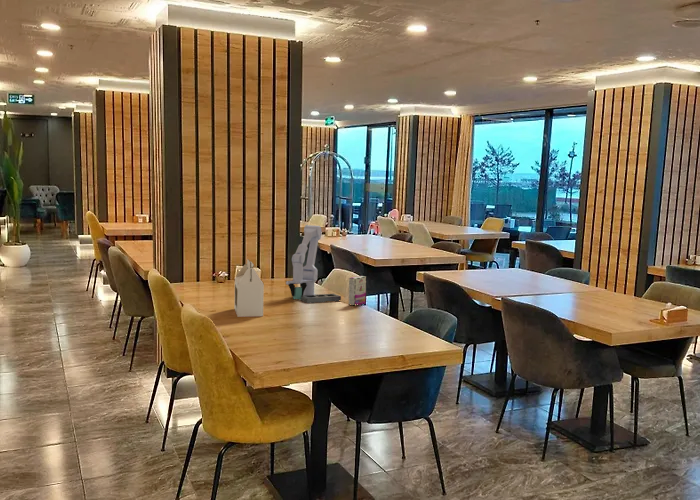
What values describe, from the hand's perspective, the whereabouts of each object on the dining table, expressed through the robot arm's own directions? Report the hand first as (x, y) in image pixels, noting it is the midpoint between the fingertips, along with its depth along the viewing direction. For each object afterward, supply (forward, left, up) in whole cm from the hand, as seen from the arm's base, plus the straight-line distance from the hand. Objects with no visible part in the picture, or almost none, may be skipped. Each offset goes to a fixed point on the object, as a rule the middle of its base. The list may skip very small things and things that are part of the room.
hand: (297, 295), depth 383 cm
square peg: (0, 0, -2) cm, 2 cm away
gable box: (+29, -41, -2) cm, 50 cm away
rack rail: (+10, +11, -2) cm, 15 cm away
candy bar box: (+28, +26, -2) cm, 38 cm away
